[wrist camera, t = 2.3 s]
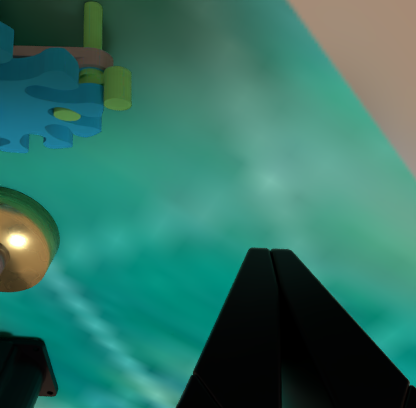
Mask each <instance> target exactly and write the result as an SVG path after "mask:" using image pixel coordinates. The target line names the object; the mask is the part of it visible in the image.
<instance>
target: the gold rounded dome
mask: <svg viewBox="0 0 416 408" xmlns="http://www.w3.org/2000/svg"><path fill="white" fill-rule="evenodd" d="M59 243H60V237H59V231H58V228H57V226H56V223H55V221H54V220H53V218H52V217H51V215H50V214H49V213H48V212H47V211H46V210H45V209H44V208H43V207H42V206H41V205H40V204H39V203H37V202H36V201H34V200H33V199H31V198H30V197H28V196H26V195H24V194H22V193H20V192H17V191H14V190H11V189H7V188H2V187H0V292H17V291H22V290H26V289H29V288H31V287H33V286H34V285H36V284H37V283H38V282H39V281H40V280H41V279H42V278H43V277H44V275H45V273H46V271H47V269H48V267H49V266H50V264H51V262H52V260H53V258H54V256H55V254H56V253H57V250H58V248H59Z"/></svg>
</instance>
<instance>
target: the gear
mask: <svg viewBox="0 0 416 408" xmlns="http://www.w3.org/2000/svg"><path fill="white" fill-rule="evenodd" d="M102 16H103V8H102V6H101V5H100V4H99V3H97V2H93V1H89V2H86V3H85V5H84V39H83V47H54V46H13V44H14V30H13V29H12V28H10V27H9V26H8V25H6V24H4V23H2V22H0V150H1V151H5V152H14V153H27V152H28V149H29V134H35V135H40V136H43V137H44V142H43V144H44V146H46V147H48V148H51V149H59V148H68V147H72V145H73V134H74V135H77V136H80V137H90V136H93V135H96V134H98V133H99V132H101V120H102V113H103V109H104V106H105V107H107V108H109V109H111V110H119V111H120V110H127V109H129V108H130V107H131V72H130V71H129V70H128V69H127V68H124V67H120V66H113V58H112V56H111V55H110V54H109V53H107V52H105V51H103V50H102Z"/></svg>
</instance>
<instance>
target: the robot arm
mask: <svg viewBox="0 0 416 408" xmlns="http://www.w3.org/2000/svg"><path fill="white" fill-rule="evenodd" d="M409 385H410V382H409V380H408V379H407V378H406V377H405V376H404V375H403V374H402V372H401V371H400V370H399V369H398V368H397V367H396V366H395V365H394V364H393V362H392V361H391V360H390V359H389V358H388V357H387V356H386V355H385V354H384V352H383V351H382V350H381V349H380V348H379V347H378V346H377V345H376V344H375V342H374V341H373V340H372V339H371V338H370V337H369V336H368V335H367V334H366V332H365V331H364V330H363V329H362V328H361V327H360V326H359V325H358V324H357V322H356V321H355V320H354V319H353V318H352V317H351V316H350V315H349V314H348V312H347V311H346V310H345V309H344V308H343V307H342V306H341V305H340V304H339V303H338V301H337V300H336V299H335V298H334V297H333V296H332V295H331V294H330V293H329V291H328V290H327V289H326V288H325V287H324V286H323V285H322V284H321V283H320V281H319V280H318V279H317V278H316V277H315V276H314V275H313V274H312V273H311V271H310V270H309V269H308V268H307V267H306V266H305V265H304V264H303V263H302V261H301V260H300V259H299V258H298V257H297V256H296V255H295V254H294V253H293V252H292V251H291V250H289V249H271V250H269V249H267V248H250V249H249V250H248V252H247V254H246V256H245V259H244V261H243V263H242V265H241V267H240V270H239V272H238V274H237V276H236V278H235V281H234V283H233V285H232V287H231V289H230V292H229V294H228V296H227V298H226V300H225V303H224V305H223V307H222V309H221V311H220V314H219V316H218V318H217V320H216V322H215V325H214V327H213V329H212V331H211V333H210V336H209V338H208V340H207V342H206V344H205V347H204V349H203V351H202V353H201V355H200V358H199V360H198V362H197V364H196V366H195V369H194V371H193V375H191V377H190V379H189V381H188V383H187V385H186V388H185V390H184V392H183V394H182V396H181V398H180V400H179V402H178V404H177V406H176V408H416V388H415V387H414V386H413V385H410V386H409ZM57 391H58V387H57V383H56V380H55V377H54V373H53V370H52V367H51V364H50V360H49V357H48V354H47V350H46V347H45V344H44V343H43V342H41V341H39V340H23V339H2V338H0V408H34V405H35V403H36V400H37V398H38V396H51V397H52V396H56V394H57Z"/></svg>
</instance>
